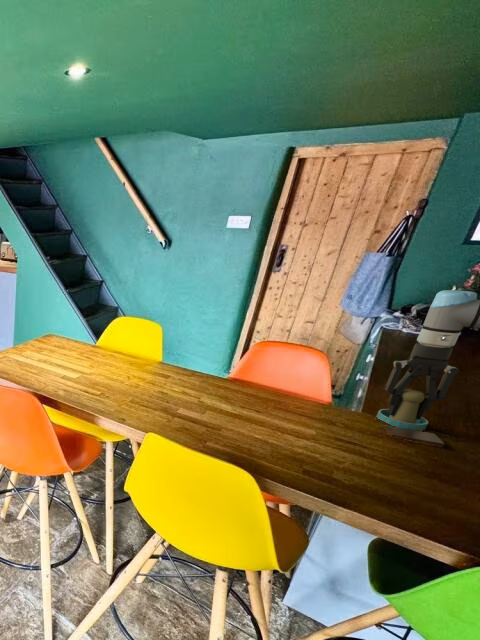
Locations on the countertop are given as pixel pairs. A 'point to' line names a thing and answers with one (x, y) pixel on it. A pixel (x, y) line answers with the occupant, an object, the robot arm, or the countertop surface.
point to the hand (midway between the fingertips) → (403, 415)
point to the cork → (408, 406)
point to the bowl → (385, 415)
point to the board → (414, 435)
